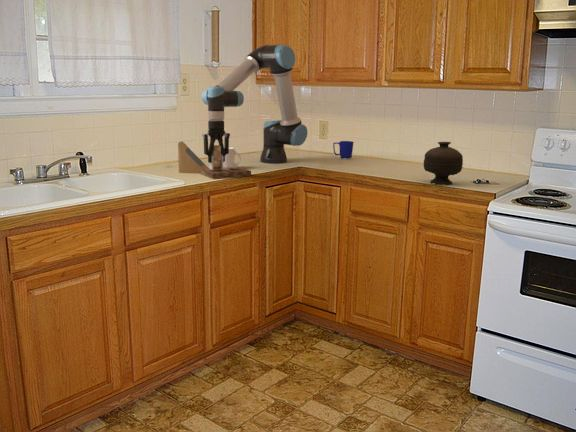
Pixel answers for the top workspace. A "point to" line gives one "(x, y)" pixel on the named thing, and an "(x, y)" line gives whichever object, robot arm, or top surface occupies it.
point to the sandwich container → (188, 160)
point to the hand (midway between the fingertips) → (216, 169)
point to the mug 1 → (231, 158)
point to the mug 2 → (345, 149)
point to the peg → (217, 158)
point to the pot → (443, 162)
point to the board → (226, 172)
